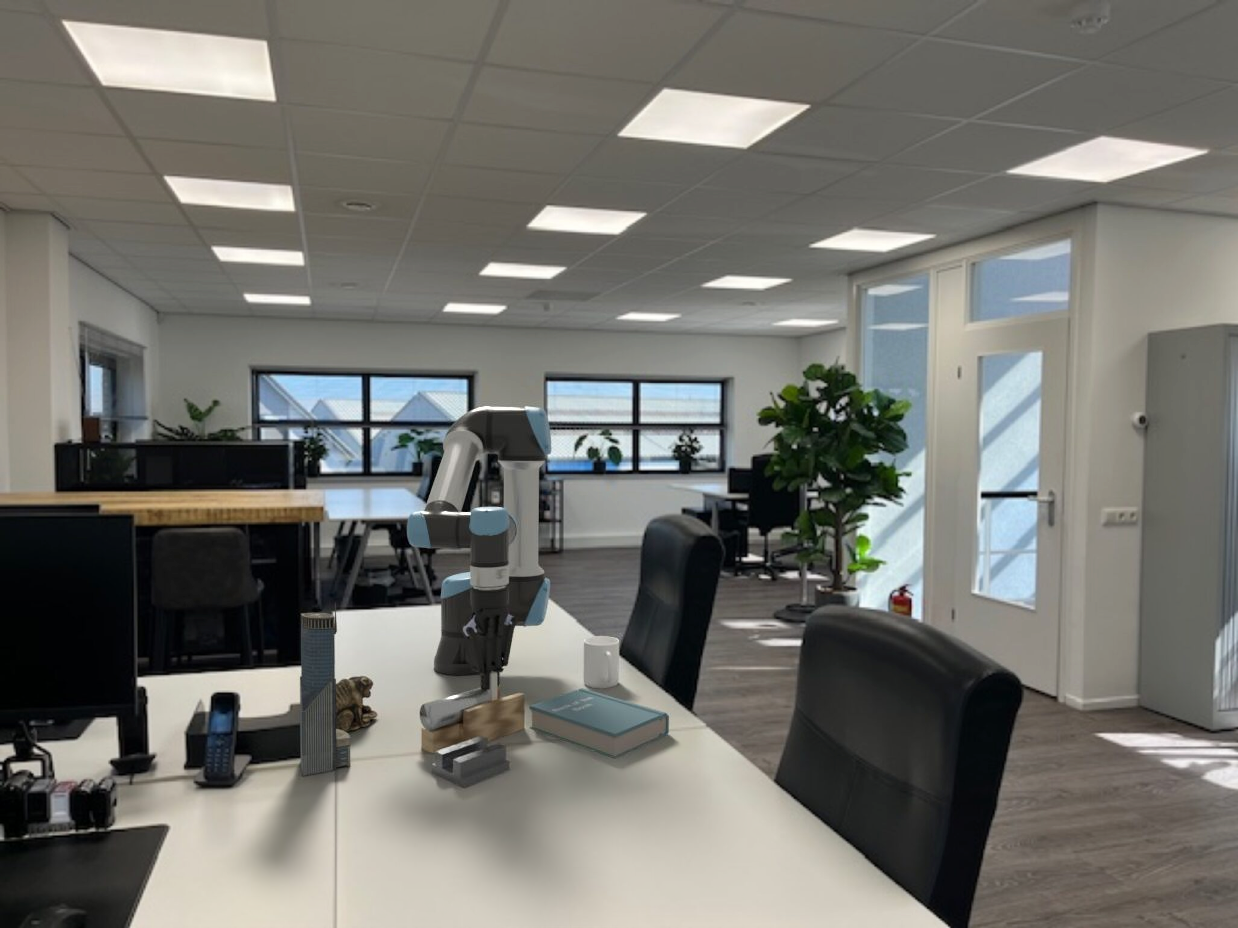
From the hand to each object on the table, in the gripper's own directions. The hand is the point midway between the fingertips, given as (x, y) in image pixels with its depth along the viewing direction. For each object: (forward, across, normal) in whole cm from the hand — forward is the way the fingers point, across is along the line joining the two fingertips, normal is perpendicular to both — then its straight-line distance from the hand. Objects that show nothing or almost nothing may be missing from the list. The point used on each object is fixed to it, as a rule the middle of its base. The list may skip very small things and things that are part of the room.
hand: (490, 704), depth 167 cm
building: (+5, -32, +8) cm, 33 cm away
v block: (+5, -15, -13) cm, 20 cm away
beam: (+5, -5, 0) cm, 7 cm away
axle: (-1, -8, 0) cm, 8 cm away
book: (+6, +14, -16) cm, 22 cm away
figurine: (+5, -19, +21) cm, 29 cm away
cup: (+6, +36, +3) cm, 37 cm away
